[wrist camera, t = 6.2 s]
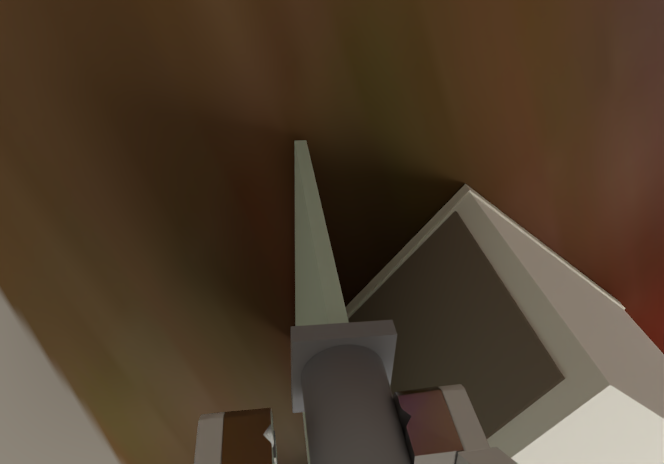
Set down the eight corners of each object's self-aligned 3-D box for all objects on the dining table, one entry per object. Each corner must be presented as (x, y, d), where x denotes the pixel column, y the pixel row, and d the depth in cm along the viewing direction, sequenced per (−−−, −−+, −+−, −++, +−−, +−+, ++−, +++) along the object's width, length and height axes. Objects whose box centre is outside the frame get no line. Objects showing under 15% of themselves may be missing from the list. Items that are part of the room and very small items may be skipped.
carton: (619, 301, 31) (798, 501, 21) (468, 422, 35) (557, 635, 25) (464, 183, 25) (610, 380, 15) (307, 345, 29) (338, 582, 19)
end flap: (328, 130, 22) (464, 534, 8) (321, 346, 29) (390, 768, 15) (271, 131, 22) (312, 552, 8) (277, 349, 29) (306, 782, 15)
